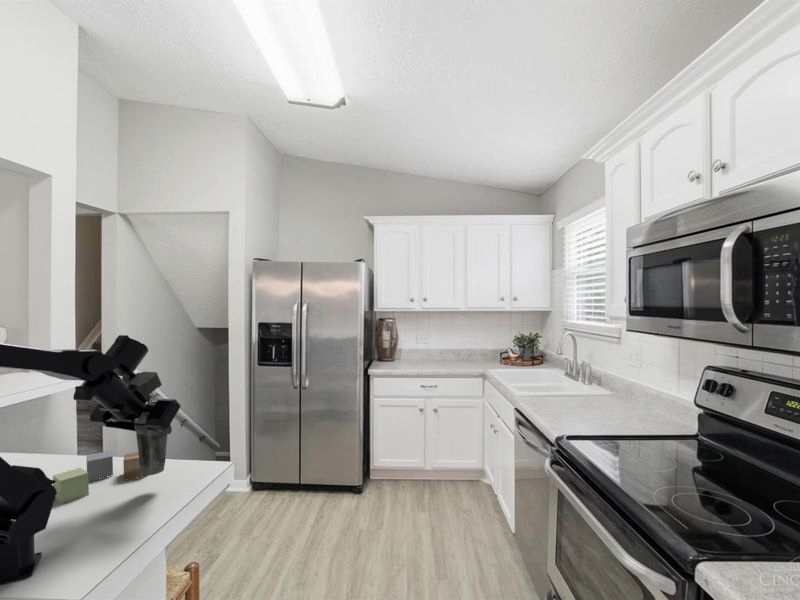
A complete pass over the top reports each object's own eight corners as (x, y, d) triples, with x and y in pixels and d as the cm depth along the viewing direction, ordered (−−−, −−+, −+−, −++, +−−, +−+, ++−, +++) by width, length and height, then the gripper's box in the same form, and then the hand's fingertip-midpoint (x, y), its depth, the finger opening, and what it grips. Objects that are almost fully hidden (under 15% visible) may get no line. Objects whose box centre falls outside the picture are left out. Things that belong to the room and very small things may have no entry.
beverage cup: (178, 466, 96) (177, 380, 96) (152, 479, 89) (151, 386, 89) (153, 463, 98) (152, 379, 98) (125, 476, 91) (124, 385, 91)
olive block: (88, 494, 93) (88, 472, 93) (60, 504, 88) (60, 481, 88) (80, 489, 95) (80, 467, 95) (53, 498, 91) (52, 475, 91)
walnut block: (148, 476, 102) (147, 455, 102) (123, 480, 100) (123, 460, 100) (148, 468, 106) (148, 449, 106) (125, 473, 104) (125, 453, 104)
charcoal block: (112, 476, 102) (112, 456, 102) (87, 482, 99) (87, 461, 99) (111, 470, 106) (110, 450, 106) (86, 475, 103) (86, 455, 103)
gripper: (173, 362, 88) (209, 402, 98) (102, 360, 92) (143, 399, 102) (143, 408, 80) (185, 446, 91) (66, 405, 84) (115, 441, 95)
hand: (157, 431), depth 95 cm, fingers closed on beverage cup, 7 cm apart
